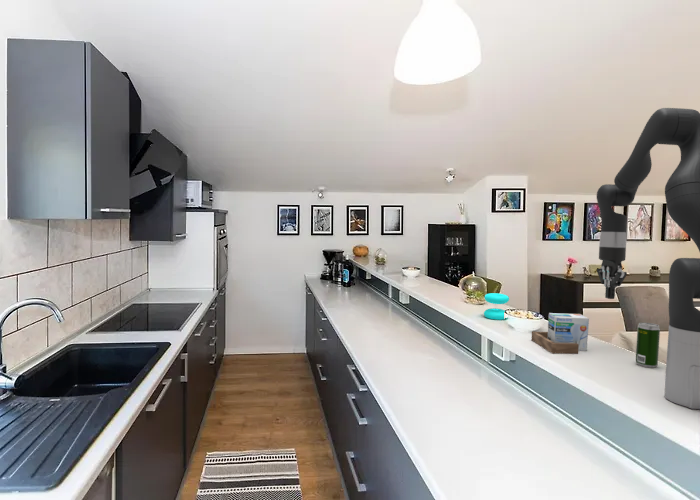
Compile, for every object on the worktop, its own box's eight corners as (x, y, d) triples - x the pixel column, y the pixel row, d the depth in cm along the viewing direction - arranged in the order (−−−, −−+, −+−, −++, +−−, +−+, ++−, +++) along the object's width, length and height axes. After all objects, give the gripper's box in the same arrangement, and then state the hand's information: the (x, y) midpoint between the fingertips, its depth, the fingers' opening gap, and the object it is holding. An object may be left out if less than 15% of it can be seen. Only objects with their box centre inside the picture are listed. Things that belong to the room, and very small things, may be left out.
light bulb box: (553, 349, 143) (555, 316, 142) (546, 344, 150) (547, 312, 149) (588, 351, 142) (590, 318, 141) (578, 345, 149) (580, 313, 148)
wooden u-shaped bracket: (578, 353, 139) (578, 344, 139) (552, 353, 139) (552, 343, 139) (554, 340, 154) (555, 331, 154) (531, 340, 154) (531, 331, 154)
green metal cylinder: (652, 369, 125) (655, 327, 124) (631, 364, 130) (634, 323, 129) (660, 366, 128) (663, 325, 127) (640, 361, 133) (643, 321, 132)
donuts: (486, 296, 184) (482, 292, 194) (485, 319, 185) (482, 314, 195) (511, 297, 183) (506, 293, 193) (510, 321, 184) (505, 315, 194)
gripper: (637, 247, 138) (634, 302, 139) (611, 245, 151) (608, 295, 152) (613, 246, 138) (610, 301, 139) (589, 244, 151) (587, 295, 152)
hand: (609, 298), depth 146 cm, fingers closed
